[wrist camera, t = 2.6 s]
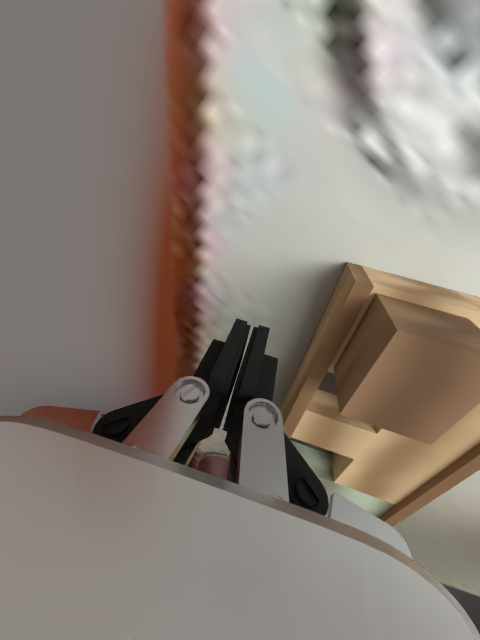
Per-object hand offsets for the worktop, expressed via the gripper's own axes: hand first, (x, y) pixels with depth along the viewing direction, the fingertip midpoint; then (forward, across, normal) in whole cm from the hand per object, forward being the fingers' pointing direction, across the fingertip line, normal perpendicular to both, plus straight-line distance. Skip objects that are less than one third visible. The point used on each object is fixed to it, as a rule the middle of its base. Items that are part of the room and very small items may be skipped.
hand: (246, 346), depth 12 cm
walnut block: (+4, -9, 0) cm, 10 cm away
